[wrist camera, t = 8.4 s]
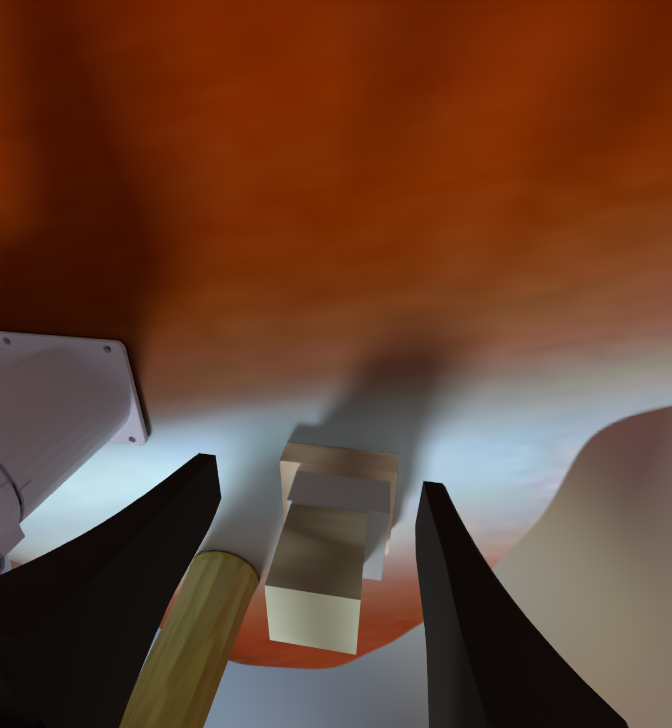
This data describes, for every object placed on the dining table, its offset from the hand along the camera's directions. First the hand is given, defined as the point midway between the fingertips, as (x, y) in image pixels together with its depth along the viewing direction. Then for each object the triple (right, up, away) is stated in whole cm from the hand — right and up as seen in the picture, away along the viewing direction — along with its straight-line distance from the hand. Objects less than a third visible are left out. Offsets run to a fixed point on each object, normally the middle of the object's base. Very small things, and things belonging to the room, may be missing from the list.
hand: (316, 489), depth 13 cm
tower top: (+1, -6, +12) cm, 13 cm away
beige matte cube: (0, -6, +10) cm, 12 cm away
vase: (-9, -14, +20) cm, 26 cm away
